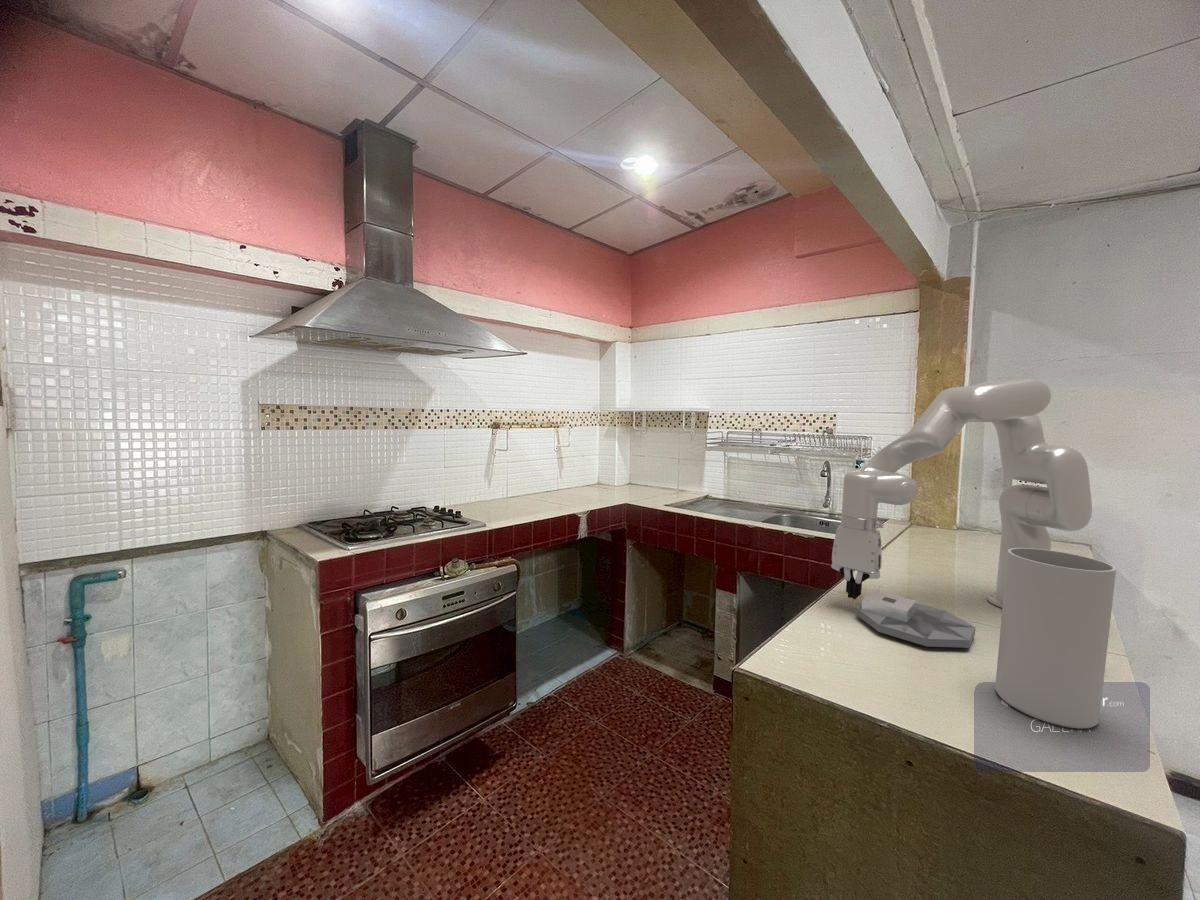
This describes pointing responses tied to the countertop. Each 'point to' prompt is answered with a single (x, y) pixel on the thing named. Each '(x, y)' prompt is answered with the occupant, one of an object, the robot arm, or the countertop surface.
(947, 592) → the countertop surface
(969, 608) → the countertop surface
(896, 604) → the cover
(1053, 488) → the robot arm
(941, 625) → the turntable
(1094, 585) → the cylinder vase
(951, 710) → the countertop surface
